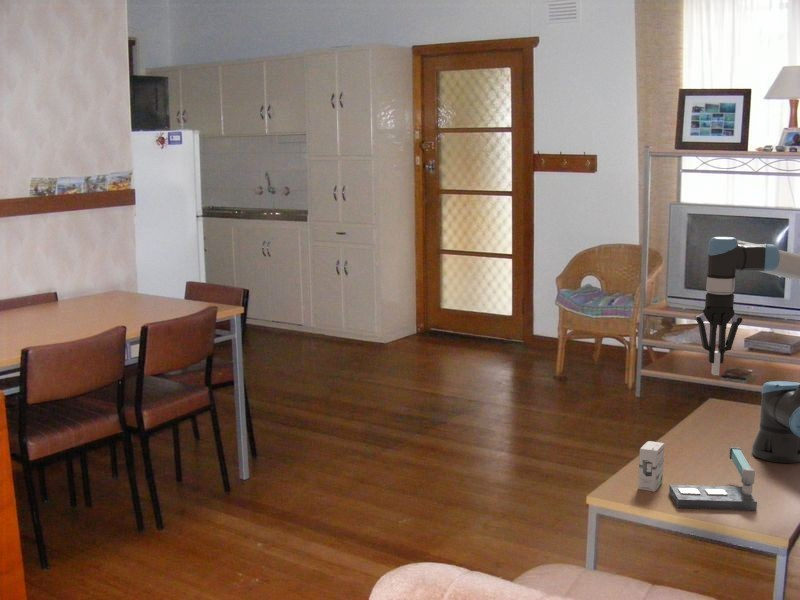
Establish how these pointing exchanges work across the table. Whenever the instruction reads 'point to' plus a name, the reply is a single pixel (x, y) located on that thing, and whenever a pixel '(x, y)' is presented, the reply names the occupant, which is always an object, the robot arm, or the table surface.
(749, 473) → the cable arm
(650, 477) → the ink box
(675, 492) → the plate
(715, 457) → the table surface
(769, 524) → the table surface
